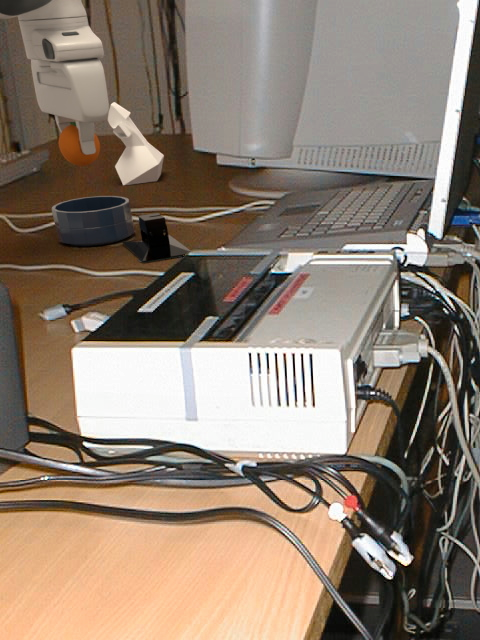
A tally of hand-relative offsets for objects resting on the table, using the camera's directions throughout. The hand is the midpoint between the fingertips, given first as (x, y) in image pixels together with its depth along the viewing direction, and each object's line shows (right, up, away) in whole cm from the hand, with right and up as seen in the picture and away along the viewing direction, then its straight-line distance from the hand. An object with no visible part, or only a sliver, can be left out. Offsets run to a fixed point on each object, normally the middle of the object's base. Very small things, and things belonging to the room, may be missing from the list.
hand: (80, 151), depth 129 cm
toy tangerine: (0, +1, 0) cm, 1 cm away
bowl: (0, -11, +6) cm, 12 cm away
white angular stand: (-4, +13, +47) cm, 49 cm away
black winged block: (+11, -15, -1) cm, 18 cm away
